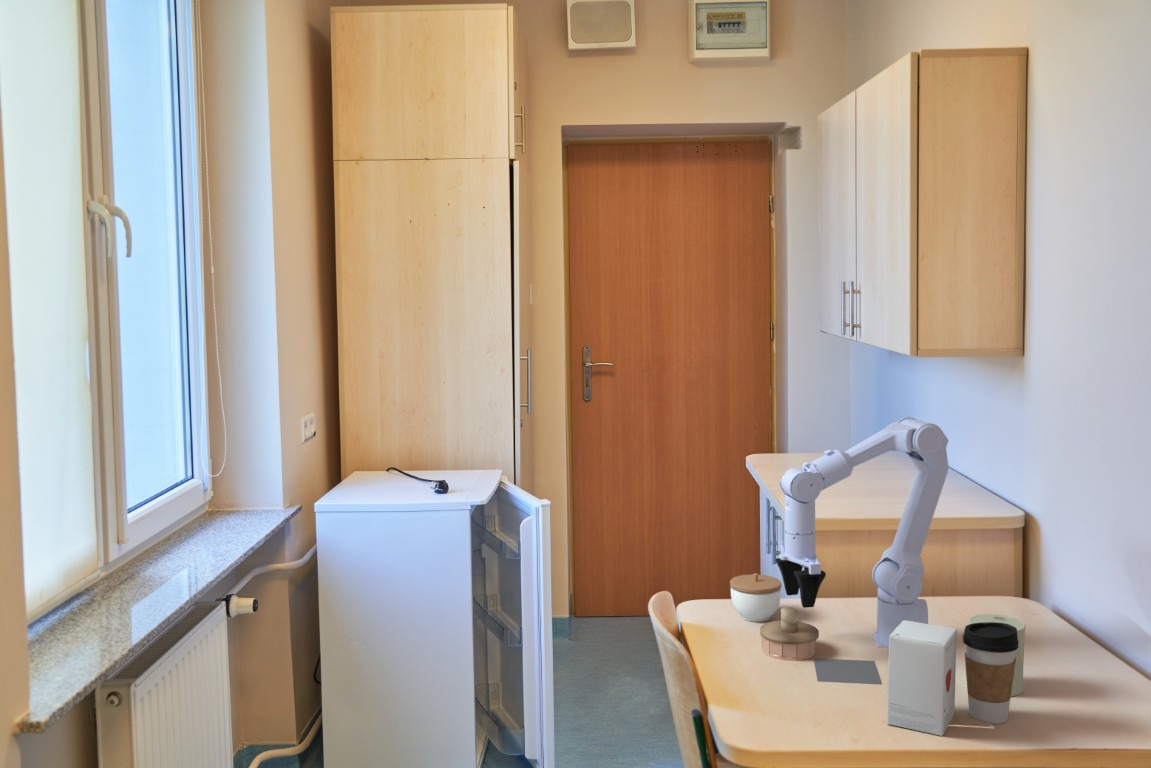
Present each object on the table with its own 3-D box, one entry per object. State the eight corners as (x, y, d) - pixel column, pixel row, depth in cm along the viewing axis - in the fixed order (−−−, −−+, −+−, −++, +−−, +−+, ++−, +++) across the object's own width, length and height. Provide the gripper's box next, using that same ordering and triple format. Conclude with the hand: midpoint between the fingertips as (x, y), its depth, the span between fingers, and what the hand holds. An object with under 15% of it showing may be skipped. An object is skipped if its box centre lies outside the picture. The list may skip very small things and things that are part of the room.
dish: (813, 644, 202) (813, 626, 202) (816, 663, 193) (816, 644, 192) (761, 642, 204) (761, 624, 204) (762, 660, 194) (762, 642, 194)
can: (1021, 679, 184) (1023, 614, 182) (1025, 699, 175) (1028, 631, 174) (966, 673, 187) (967, 609, 185) (967, 693, 178) (969, 625, 177)
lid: (811, 624, 203) (811, 600, 203) (825, 643, 193) (825, 618, 192) (755, 624, 203) (755, 601, 203) (766, 644, 192) (766, 619, 192)
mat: (874, 662, 192) (874, 660, 192) (881, 686, 182) (881, 684, 182) (813, 660, 194) (813, 658, 194) (817, 683, 183) (817, 680, 183)
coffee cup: (1021, 729, 164) (1024, 637, 162) (965, 725, 166) (967, 634, 164) (1010, 707, 172) (1013, 620, 170) (956, 704, 174) (959, 617, 172)
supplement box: (943, 737, 161) (945, 645, 160) (885, 725, 166) (887, 635, 165) (956, 716, 169) (958, 627, 168) (900, 704, 174) (902, 618, 172)
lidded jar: (791, 617, 218) (792, 574, 217) (758, 629, 211) (759, 584, 210) (752, 605, 226) (752, 563, 225) (719, 616, 220) (719, 573, 219)
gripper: (766, 524, 204) (766, 591, 205) (795, 542, 189) (795, 614, 191) (799, 521, 205) (799, 588, 206) (831, 539, 191) (831, 611, 192)
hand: (799, 600), depth 199 cm, fingers open, 7 cm apart
